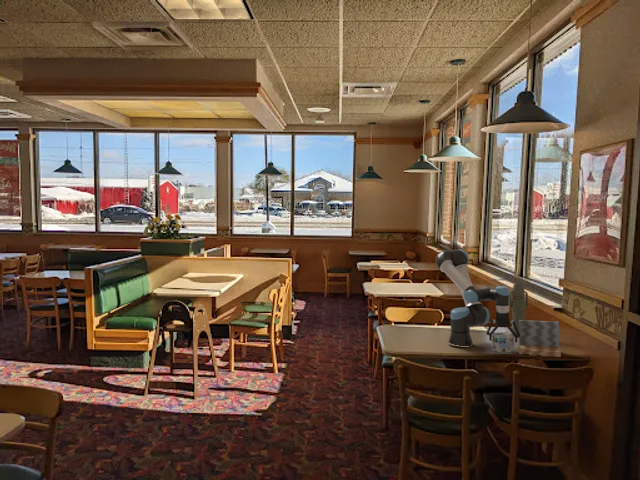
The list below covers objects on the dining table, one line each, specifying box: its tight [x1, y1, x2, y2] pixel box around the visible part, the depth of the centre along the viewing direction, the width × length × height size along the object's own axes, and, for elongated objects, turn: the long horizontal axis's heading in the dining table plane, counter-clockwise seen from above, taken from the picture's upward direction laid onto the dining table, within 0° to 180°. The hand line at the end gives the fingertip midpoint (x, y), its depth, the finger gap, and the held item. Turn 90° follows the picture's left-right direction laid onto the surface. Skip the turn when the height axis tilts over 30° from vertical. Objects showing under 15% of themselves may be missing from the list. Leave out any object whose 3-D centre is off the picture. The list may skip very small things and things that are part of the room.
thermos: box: [509, 283, 529, 335], centre depth 324 cm, size 9×12×35 cm
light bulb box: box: [492, 331, 515, 354], centre depth 292 cm, size 11×7×11 cm, turn 101°
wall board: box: [518, 319, 562, 358], centre depth 285 cm, size 22×12×18 cm, turn 68°
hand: (503, 346), depth 292 cm, fingers closed on light bulb box, 12 cm apart
